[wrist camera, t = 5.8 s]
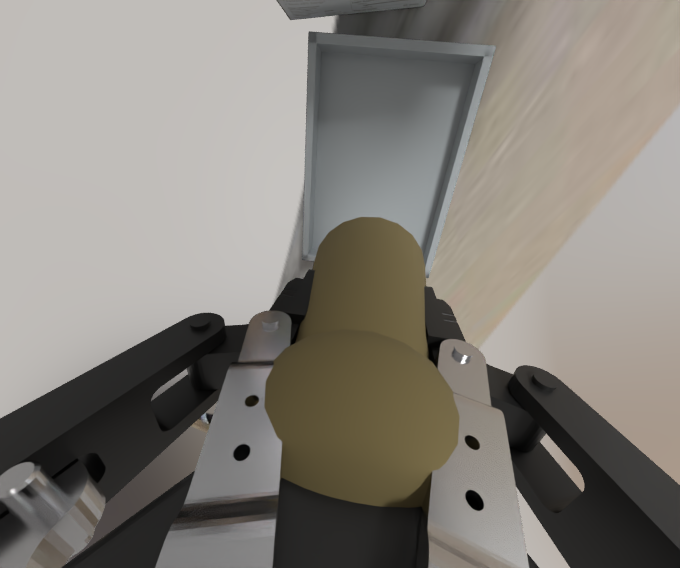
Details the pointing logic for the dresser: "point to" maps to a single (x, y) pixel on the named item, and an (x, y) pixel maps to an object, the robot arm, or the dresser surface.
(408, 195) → the tray
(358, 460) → the cork
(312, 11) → the light bulb box
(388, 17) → the dresser surface
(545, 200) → the dresser surface
